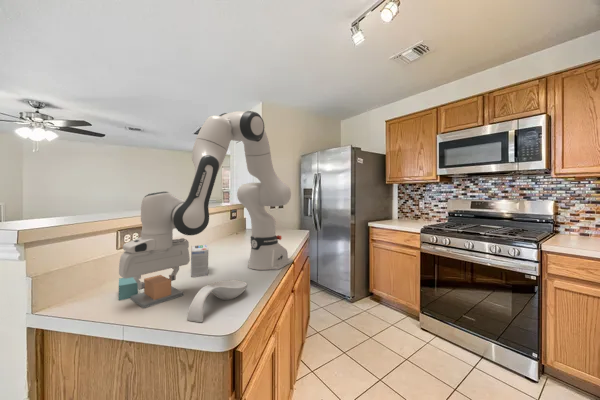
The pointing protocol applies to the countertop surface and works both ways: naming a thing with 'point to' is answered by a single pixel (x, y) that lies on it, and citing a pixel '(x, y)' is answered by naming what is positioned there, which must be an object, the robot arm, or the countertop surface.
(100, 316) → the countertop surface
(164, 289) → the terracotta brick
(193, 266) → the light bulb box
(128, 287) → the teal brick
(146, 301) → the grey baseplate
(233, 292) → the spoon rest
